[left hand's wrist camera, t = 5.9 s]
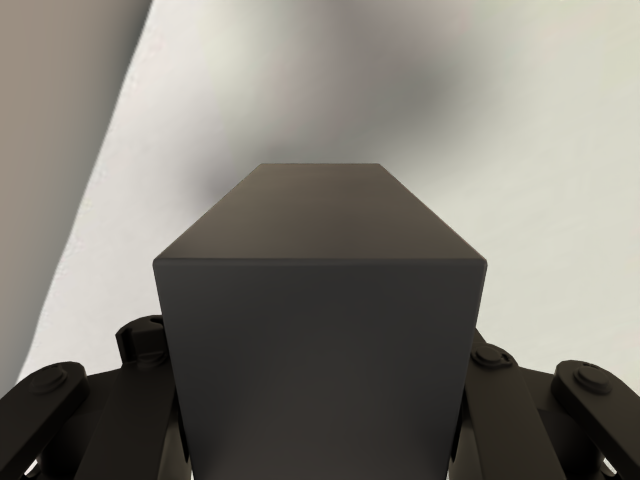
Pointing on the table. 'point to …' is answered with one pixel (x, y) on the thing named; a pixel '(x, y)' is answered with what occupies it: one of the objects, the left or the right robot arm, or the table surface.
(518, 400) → the left robot arm
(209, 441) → the bar
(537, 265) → the table surface
